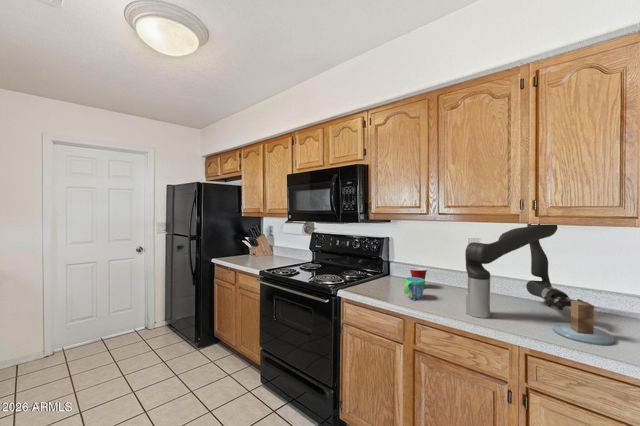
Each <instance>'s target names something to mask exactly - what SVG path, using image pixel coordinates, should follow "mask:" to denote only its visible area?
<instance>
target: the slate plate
mask: <svg viewBox="0 0 640 426" xmlns="http://www.w3.org/2000/svg"><path fill="white" fill-rule="evenodd" d="M552 332H554V333H555V334H557V335H559V336H561V337H563V338H566V339H568V340H571V341H574V340H575V341H576V342H578V343H582V342H583V344H587V343H588V344H587V345H593V344H594V346H595V345H596V346H611V345H613V344H614V343H615V337H614V336H613V335H612V334H610V333H609V332H607V331H604V330H602V329H600V328H596V327H594V333H593V334H582V333H577V332H576V331H574V330H573V329H571V322H556V323H553V324H552ZM575 341H574V342H575Z"/></svg>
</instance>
